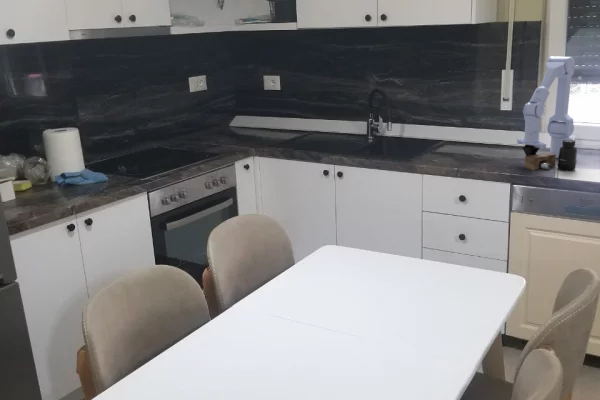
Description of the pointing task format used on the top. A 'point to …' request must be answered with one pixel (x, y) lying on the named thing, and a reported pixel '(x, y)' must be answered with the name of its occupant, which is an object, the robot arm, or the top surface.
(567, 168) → the supplement bottle
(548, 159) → the block
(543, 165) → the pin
